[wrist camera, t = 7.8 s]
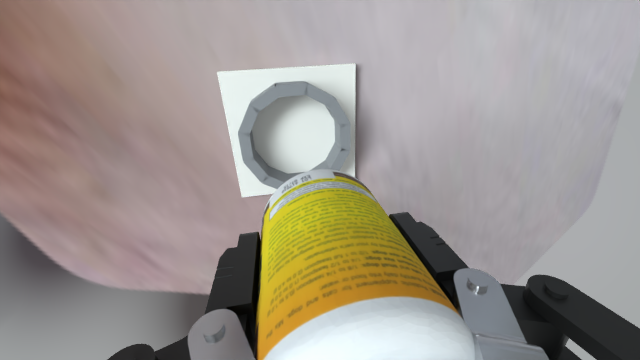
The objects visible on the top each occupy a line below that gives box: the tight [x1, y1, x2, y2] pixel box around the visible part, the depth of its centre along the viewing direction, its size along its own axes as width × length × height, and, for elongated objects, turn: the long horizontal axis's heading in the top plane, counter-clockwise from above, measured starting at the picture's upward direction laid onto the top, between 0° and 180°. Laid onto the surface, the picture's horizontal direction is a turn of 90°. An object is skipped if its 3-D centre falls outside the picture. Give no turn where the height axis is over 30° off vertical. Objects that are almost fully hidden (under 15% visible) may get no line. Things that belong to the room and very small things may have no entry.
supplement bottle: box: [254, 169, 475, 360], centre depth 9 cm, size 6×6×10 cm
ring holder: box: [217, 63, 356, 197], centre depth 27 cm, size 13×13×4 cm
